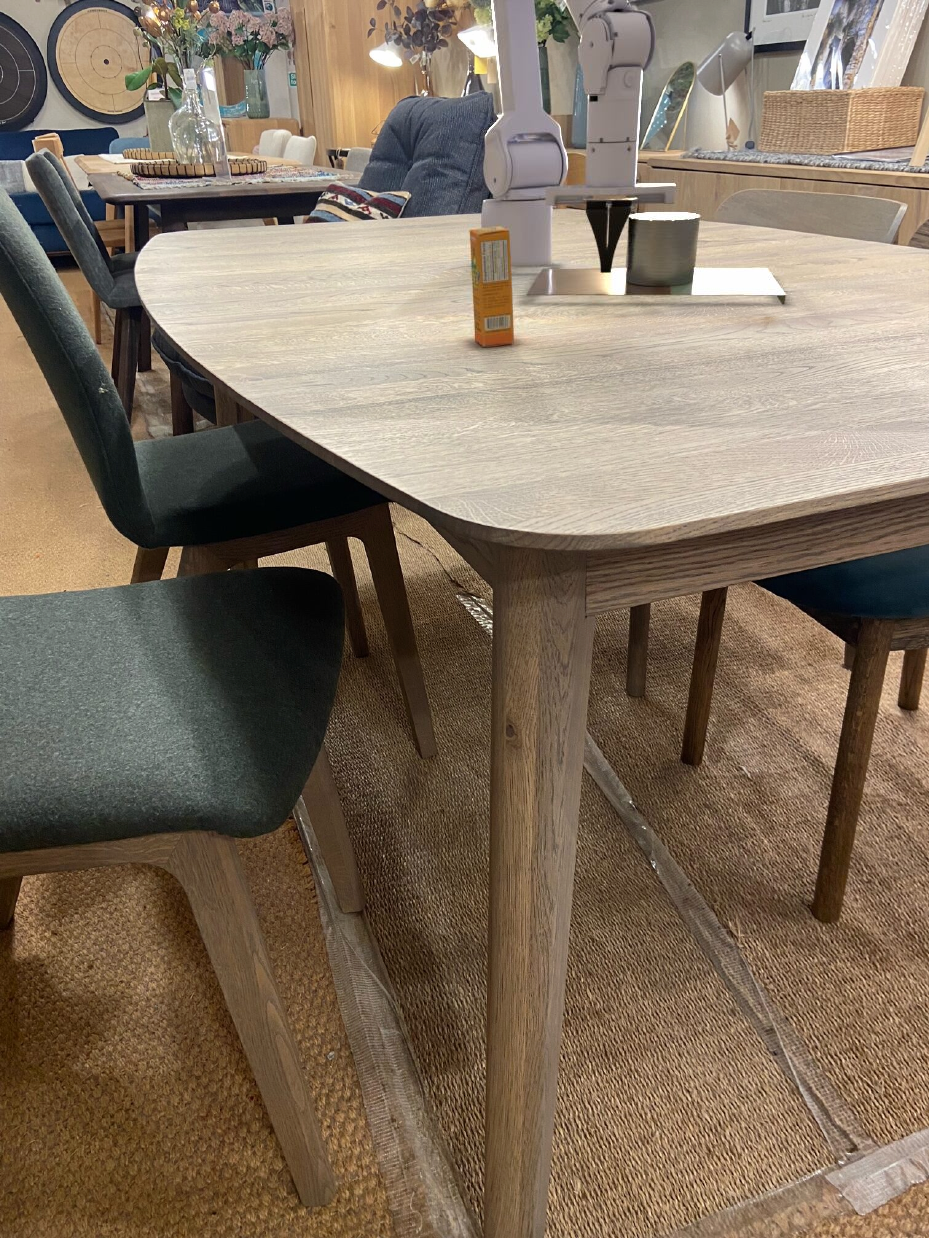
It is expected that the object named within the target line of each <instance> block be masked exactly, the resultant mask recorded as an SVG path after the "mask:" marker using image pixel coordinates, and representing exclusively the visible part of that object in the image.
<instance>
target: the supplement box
mask: <svg viewBox="0 0 929 1238" xmlns="http://www.w3.org/2000/svg"><path fill="white" fill-rule="evenodd" d="M468 231H469V241H470V243H469V244H470V266H471V286H472V305H473V327H474V341H475V342H476V343H477V344H479V345H481V346H482V347H484V348H487V347H488V348H489V347H498V346H505V345H510V344H511V345H513V344H514V343H515V342H514V341H515V330H514V303H513V301H514V300H513V299H514V298H513V280H512V279H513V278H512V277H513V275H512V274H513V273H512V266H511V251H510V233H509V231H510V230H509V229H504V228H502V227H501V226H497V227H487V228H481V227H479V228H474V229H469V230H468Z"/></svg>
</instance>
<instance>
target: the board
mask: <svg viewBox="0 0 929 1238" xmlns="http://www.w3.org/2000/svg"><path fill="white" fill-rule="evenodd" d="M625 270H626V268H612V270H611V273H601V268H542V269H541V271H540V273H539V274H538V275H537V277H536V279H535V281H534V282H533V283H532V285H531V287H530V289H528V291H527V293H526V296H776V297H777V299H778V301H779V302H780V303H781V305H785V303H786V296H787V295H786V293H785V292H784V290H783V289H782V288H781V286H780V285H779V283H778V282H777V281H776V279H775V278H774V277H773V275H772V273H771V272H770V271H769V269H768V268H767V267H714V268H713V267H705V268H704V267H702V268H701V267H700V268H699V267H697V268H696V267H695V273H694V281H693V282H692V283H689V284H685V285H678V286H642V285H635V284H630V283H627V282H626V281H625Z"/></svg>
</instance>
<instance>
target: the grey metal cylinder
mask: <svg viewBox="0 0 929 1238" xmlns="http://www.w3.org/2000/svg"><path fill="white" fill-rule="evenodd" d="M700 220H701V215H700V214H696V213H693V212H692V213H691V212H679V211H678V212H675V211H669V212H668V211H665V212H663V211H662V212H659V211H657V212H643V213H634V214H630V215H629V217H628V219H627V221H628V223H627V238H626V256H625V269H626V270H625V281H626V282H627V283H630V284H635V285H642V286H678V285H685V284H689V283H692V282H693V281H694V273H695V268H696V261H697V252H698V241H699V231H700V222H701V221H700Z"/></svg>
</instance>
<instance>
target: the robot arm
mask: <svg viewBox="0 0 929 1238" xmlns="http://www.w3.org/2000/svg"><path fill="white" fill-rule="evenodd" d="M564 3H565V5H566V8H567V9H568V11H569V13H570V15H571V17H572V20H573V22H574V24H575V26H576V29H577V31H578V33H579V35H580V41H579V45H577V55H578V63H579V66H580V68H581V72H582V76H583V79H582V80H583V82H582V85H583V86H582V88H583V89H584V94H585V95H586V96H587V116H586V117H587V119H586V142H585V143H586V146H585V148H586V149H585V174H584V175H585V177H584V179H585V180H584V184H575V185H572V184H571V185H564V183H565V181H566V178H567V175H568V169H569V162H568V155H567V151H566V149H565V147H564V143H563V139H562V130H561V129H562V128H561V126H560V124H559V123H558V122H557V121H556V120H555V119H553V118H552V117H551V116H550V115H549V114H548V113H547V112H546V111H545V110H544V105H543V93H542V92H543V91H542V82H541V69H540V67H541V66H540V56H539V43H538V32H537V30H538V29H537V19H536V7H535V0H491V9H492V20H493V29H494V40H495V50H496V51H495V53H496V61H497V62H496V64H497V73H498V82H499V92H500V104H501V116H500V117H499V118H498V119H497V120H496V122H494V124H493V125H492V126H491V127H489V129H488V130H487V133H486V134H485V135H484V159H483V169H482V171H483V178H484V181H485V185H486V186H487V188H488V190H489V192H490V193H491V194H492V196H493V197H492V198H489V199H488V198H487V199H484V200H483V201H482V205H481V216H480V217H481V218H480V220H481V221H480V228H487V227H497V226H501V227H502V228H504V229H509V230H510V231H509V233H510V251H511V267H537V266H544V265H549V264H551V263H552V261H553V260H552V259H553V258H552V257H553V256H552V255H553V251H552V250H553V207H555V206H578V205H579V206H584V205H585V215H586V218H587V220H588V223H589V225H590V228H591V231H592V233H593V236H594V237H593V238H594V240H595V244H596V248H597V252H598V259H599V265H600V269H601V273H611V270H612V269H613V261H614V256H615V253H616V250H617V246H618V244H619V240H620V237H621V235H622V233H623V230H624V228H625V226H626V223H627V221H628V220H629V216H631V212H632V209H633V205H644V204H647V205H648V204H649V205H650V204H651V205H652V204H664V205H674V204H675V199H676V184H675V183H637V169H638V151H639V150H638V149H639V135H640V117H641V102H642V101H641V100H642V87H643V86H642V85H643V74H644V73H645V72H646V71H647V70H648V69H649V67H650V66H651V64H652V61H653V60H654V57H655V52H656V47H657V33H656V27H655V24H654V23H655V22H654V21H653V16H652V15H651V13H650V12H648V11H647V10H644V9H638V7H637V5H631V3H630V1H629V0H564ZM617 196H625V197H626V198H600V199H599V198H597V199H596V198H594V197H617Z"/></svg>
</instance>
